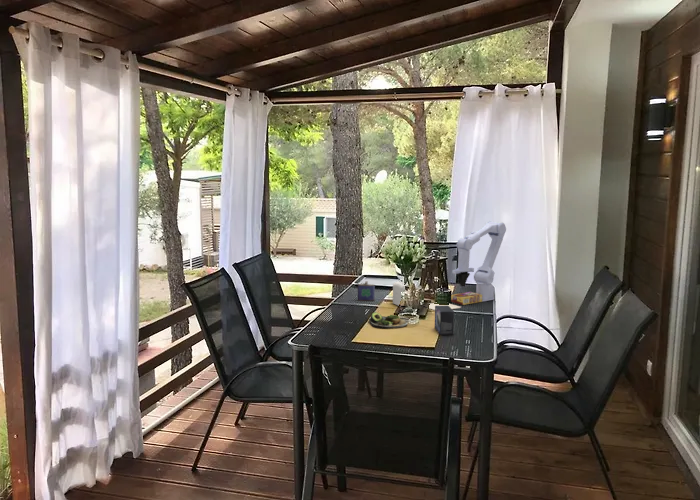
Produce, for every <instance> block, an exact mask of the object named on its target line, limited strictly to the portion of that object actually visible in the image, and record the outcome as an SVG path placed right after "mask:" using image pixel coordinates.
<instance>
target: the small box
mask: <svg viewBox="0 0 700 500" xmlns="http://www.w3.org/2000/svg"><path fill="white" fill-rule="evenodd" d="M454 316H455V310H454V309H451V308H450V307H449V306H448V305H447V306H435V310H434V329H435V330H436V331H437V333H438V334H439V336H440V335H443V336H444V335H454V322H455V320H454V319H455V317H454Z"/></svg>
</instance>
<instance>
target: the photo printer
mask: <svg viewBox="0 0 700 500" xmlns="http://www.w3.org/2000/svg"><path fill="white" fill-rule="evenodd" d="M404 284H405V283H404V282H402V281H396V282H394V283H393V284H392V304H394V305H396V306H399V304H400V301H401V292H402V291H403V290H405V286H407V285H406V284H405V285H404ZM399 307H400V306H399Z"/></svg>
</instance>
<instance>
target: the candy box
mask: <svg viewBox="0 0 700 500" xmlns="http://www.w3.org/2000/svg"><path fill="white" fill-rule="evenodd" d="M450 297H451V299H450V302H451V303H454V304H458V305H462V306H465V305H469V304H470V305H471V304H478V303H482V302H483V301H482V295H481V294H477V293H476V292H472V291H466V292H460V293H455V294H451V296H450Z"/></svg>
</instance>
